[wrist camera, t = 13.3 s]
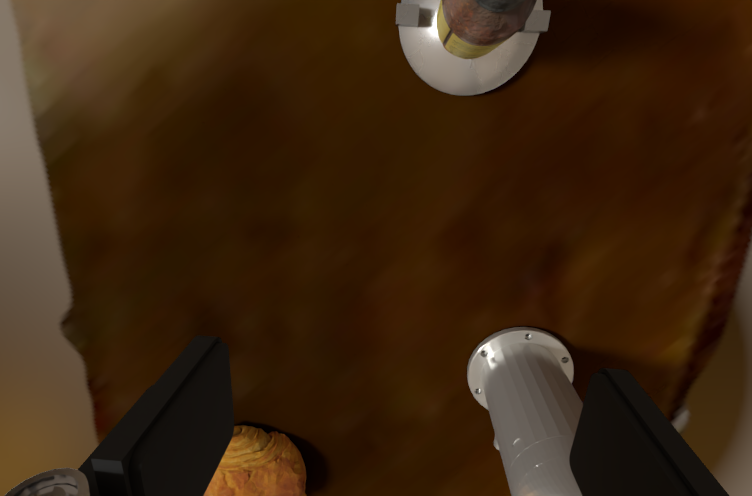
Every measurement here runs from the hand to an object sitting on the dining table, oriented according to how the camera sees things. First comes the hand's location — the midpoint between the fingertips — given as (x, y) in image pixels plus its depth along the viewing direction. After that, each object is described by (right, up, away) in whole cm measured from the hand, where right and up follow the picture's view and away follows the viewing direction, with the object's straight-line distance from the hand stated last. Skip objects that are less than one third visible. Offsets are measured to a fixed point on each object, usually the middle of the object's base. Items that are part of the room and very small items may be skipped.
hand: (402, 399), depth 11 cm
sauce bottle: (+8, +25, +28) cm, 38 cm away
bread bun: (-17, -27, +50) cm, 59 cm away
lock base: (+8, +25, +29) cm, 39 cm away
